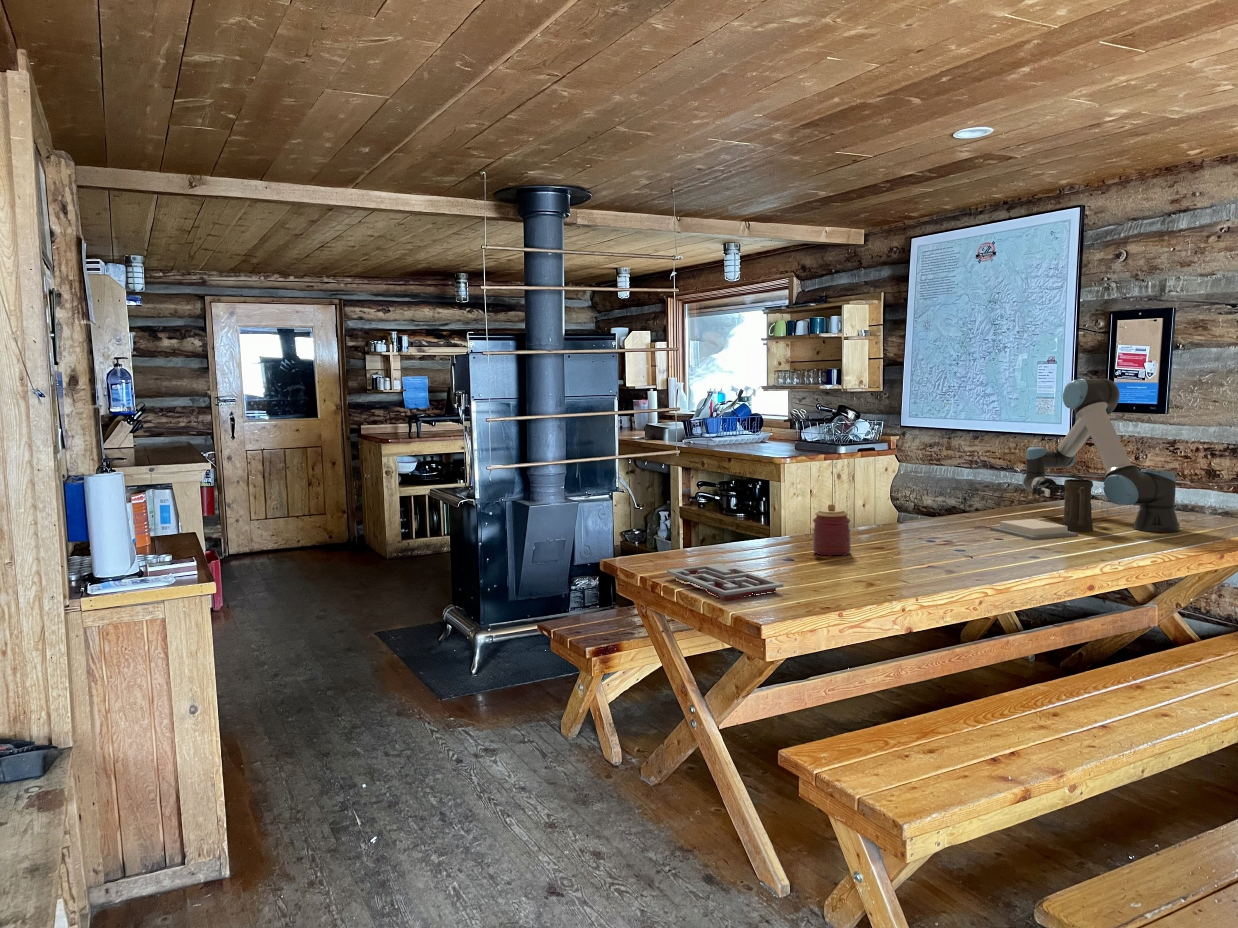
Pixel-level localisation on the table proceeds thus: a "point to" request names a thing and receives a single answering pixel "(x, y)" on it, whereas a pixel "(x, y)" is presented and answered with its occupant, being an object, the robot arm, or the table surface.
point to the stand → (1033, 529)
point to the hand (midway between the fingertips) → (1066, 493)
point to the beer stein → (1078, 505)
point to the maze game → (725, 580)
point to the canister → (831, 532)
